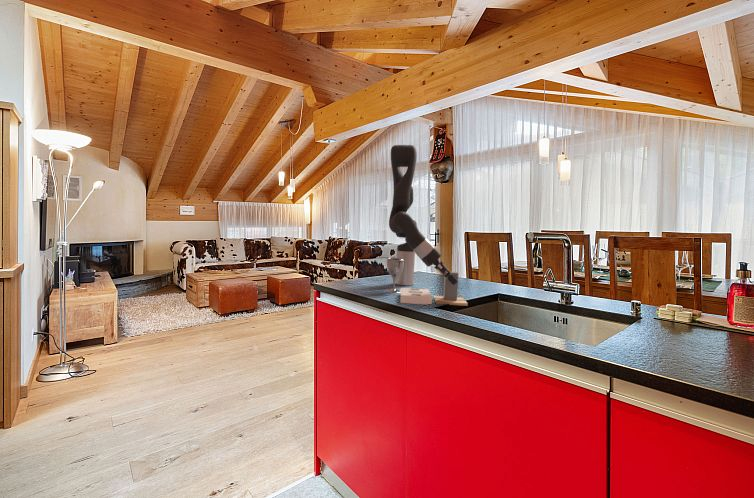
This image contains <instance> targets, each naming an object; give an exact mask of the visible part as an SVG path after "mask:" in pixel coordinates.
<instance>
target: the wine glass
mask: <svg viewBox="0 0 754 498" xmlns="http://www.w3.org/2000/svg"><path fill="white" fill-rule="evenodd" d="M403 267H404V259H401V258H397V257H387V258H386V269H387V272H388V273H389V274H390V276H391V277H392V283H393V285H392V286H393V288H392V289H387V290H386V292H387V293H391V294H401V290H398V289H396V278H397V277H398V275H399V274H400V273H401V272H402V270H403Z"/></svg>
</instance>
